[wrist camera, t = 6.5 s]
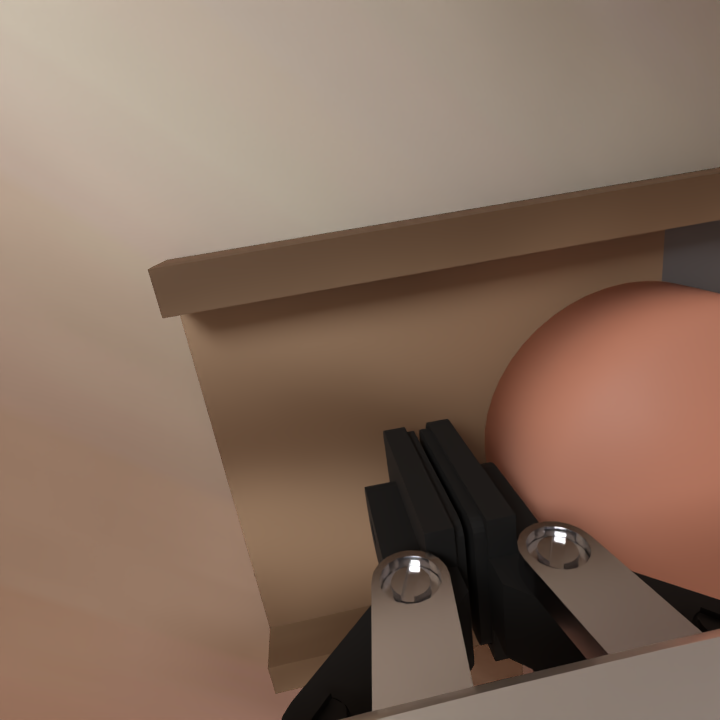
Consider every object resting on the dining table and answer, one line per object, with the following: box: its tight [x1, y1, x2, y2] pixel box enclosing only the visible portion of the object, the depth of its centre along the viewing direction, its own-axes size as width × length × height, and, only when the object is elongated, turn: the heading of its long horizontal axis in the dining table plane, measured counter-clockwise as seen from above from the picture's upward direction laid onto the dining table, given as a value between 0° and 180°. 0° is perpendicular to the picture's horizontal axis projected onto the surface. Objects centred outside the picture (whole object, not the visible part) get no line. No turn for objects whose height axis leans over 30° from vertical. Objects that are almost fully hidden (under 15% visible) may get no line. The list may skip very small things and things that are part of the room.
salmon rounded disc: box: [485, 281, 720, 600], centre depth 12 cm, size 8×8×4 cm
